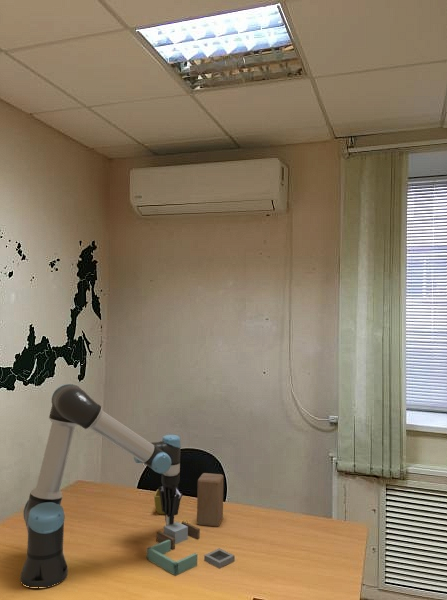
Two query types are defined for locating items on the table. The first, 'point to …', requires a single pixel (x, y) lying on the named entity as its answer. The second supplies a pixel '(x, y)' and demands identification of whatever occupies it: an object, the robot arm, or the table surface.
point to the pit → (219, 558)
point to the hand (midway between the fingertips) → (169, 530)
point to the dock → (166, 563)
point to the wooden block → (210, 499)
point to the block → (177, 531)
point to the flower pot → (158, 503)
